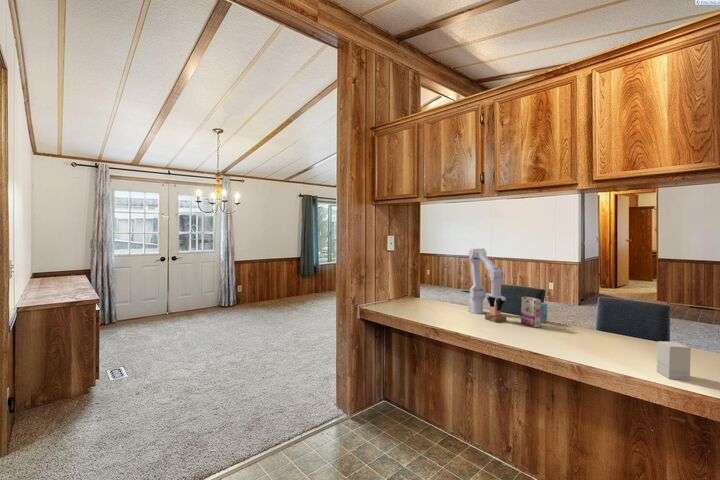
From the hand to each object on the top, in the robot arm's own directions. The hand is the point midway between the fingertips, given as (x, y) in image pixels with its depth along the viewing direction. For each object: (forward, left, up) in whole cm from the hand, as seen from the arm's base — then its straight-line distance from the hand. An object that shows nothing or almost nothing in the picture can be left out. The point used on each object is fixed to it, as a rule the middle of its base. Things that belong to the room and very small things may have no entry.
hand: (495, 309), depth 222 cm
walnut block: (0, 0, -7) cm, 7 cm away
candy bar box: (+17, +11, -7) cm, 21 cm away
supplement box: (+92, +2, -7) cm, 92 cm away
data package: (+11, +22, -7) cm, 26 cm away
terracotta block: (0, 0, -3) cm, 3 cm away
